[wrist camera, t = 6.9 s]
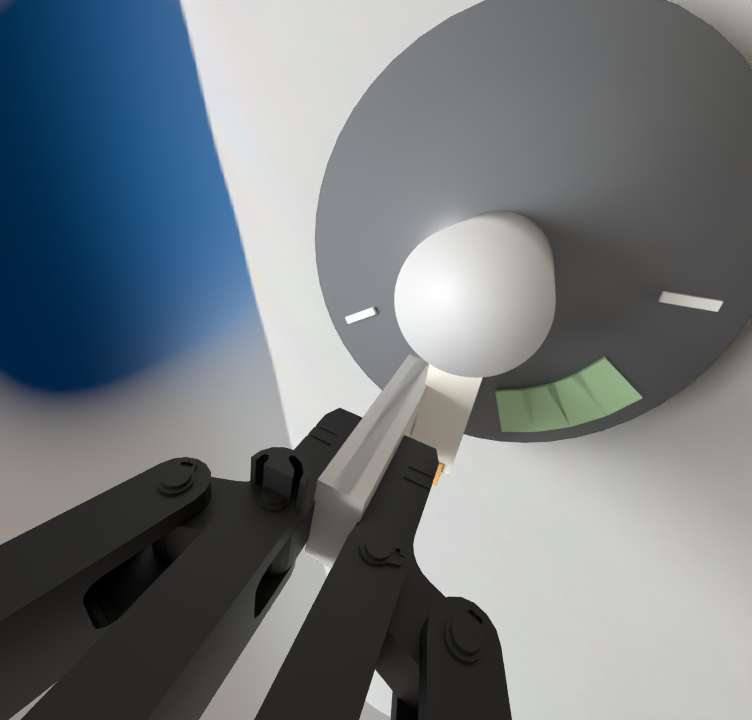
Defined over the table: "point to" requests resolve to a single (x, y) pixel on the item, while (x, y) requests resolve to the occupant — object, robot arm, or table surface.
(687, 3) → the table surface
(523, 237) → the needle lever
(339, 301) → the dial base
